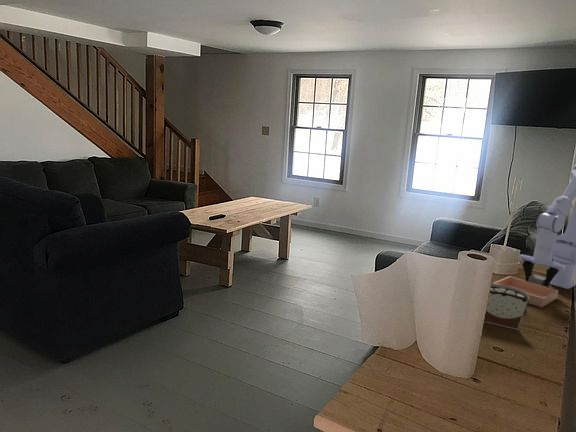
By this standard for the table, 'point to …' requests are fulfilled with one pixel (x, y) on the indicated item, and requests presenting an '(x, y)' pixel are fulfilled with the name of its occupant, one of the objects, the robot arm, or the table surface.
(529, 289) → the terracotta bin
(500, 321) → the food container
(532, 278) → the grey block
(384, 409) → the table surface
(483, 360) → the table surface
